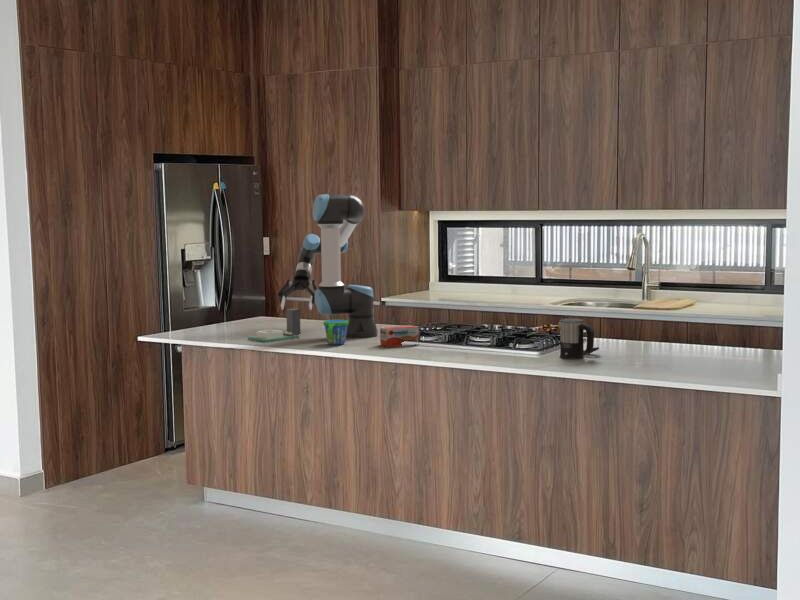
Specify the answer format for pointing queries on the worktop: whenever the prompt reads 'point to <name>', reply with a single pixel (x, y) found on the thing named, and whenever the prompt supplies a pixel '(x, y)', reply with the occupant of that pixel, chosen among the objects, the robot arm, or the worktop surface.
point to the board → (272, 336)
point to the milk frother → (575, 339)
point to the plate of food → (551, 327)
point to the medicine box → (397, 335)
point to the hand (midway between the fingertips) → (295, 308)
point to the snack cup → (336, 331)
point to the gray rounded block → (293, 321)
